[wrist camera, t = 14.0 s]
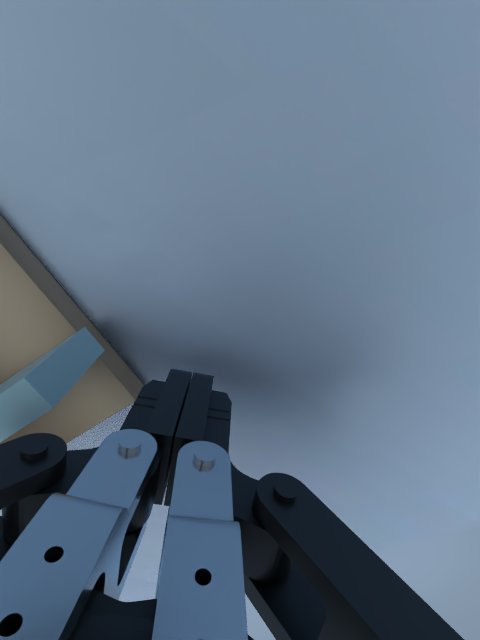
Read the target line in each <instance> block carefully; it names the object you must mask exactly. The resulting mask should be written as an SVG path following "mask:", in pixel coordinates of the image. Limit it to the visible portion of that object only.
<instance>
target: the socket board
mask: <svg viewBox="0 0 480 640" xmlns="http://www.w3.org/2000/svg"><path fill="white" fill-rule="evenodd" d="M83 327H85V328H86V329H87V330H88V331H89V332H90V333H91V335H92V336H93V337H94V338H95V339H96V340H97V342H98V343H99V344H100V345H101V346H102V348H103V349H104V352H103V353H102V354H101V355H100V356H99V357H98V358H97V359H96V361H95V362H94V363H93V364H92V365H91V366H90V367H89V369H88V370H87V371H86V372H85V373H84V374H83V375H82V376H81V378H80V379H79V380H78V381H77V382H76V383H75V384H74V385H73V387H72V388H71V389H70V390H69V391H68V392H67V393H66V395H65V396H64V397H63V398H62V399H61V400H60V401H59V402H58V404H57V405H56V406H55V407H54V408H53V409H52V410H50V411H48V412H47V413H45V414H44V415H42V416H41V417H39V418H38V419H36V420H34V421H33V422H31V423H30V424H28V425H27V426H25V427H24V428H22V429H20V430H19V431H17V432H16V433H14V434H13V435H11V436H10V437H8V438H6V439H5V440H3V441H2V442H0V444H2V443H5V442H8V441H10V440H13V439H16V438H19V437H21V436H24V435H28V434H33V433H50V434H54V435H57V436H59V437H61V438H62V439H63V440H64V441H65V443H67V442H69V441H71V440H72V439H74V438H76V437H77V436H79V435H80V434H82V433H84V432H85V431H87V430H89V429H90V428H92V427H94V426H95V425H97V424H98V423H100V422H102V421H103V420H105V419H107V418H108V417H110V416H112V415H113V414H115V413H116V412H118V411H120V410H121V409H123V408H125V407H126V406H128V405H130V404H131V403H133V402H134V401H135V400H136V398H137V397H138V395H139V393H140V391H141V389H142V387H143V386H144V384H143V383H142V382H141V381H140V380H139V378H138V377H137V376H136V375H135V374H134V372H133V371H132V370H131V369H130V368H129V367H128V365H127V364H126V363H125V362H124V361H123V359H122V358H121V357H120V356H119V355H118V354H117V352H116V351H115V350H114V349H113V348H112V346H111V345H110V344H109V343H108V342H107V340H106V339H105V338H104V337H103V336H102V335H101V333H100V332H99V331H98V330H97V329H96V327H95V326H94V325H93V324H92V323H91V322H90V320H89V319H88V318H87V317H86V316H85V314H84V313H83V312H82V311H81V310H80V308H79V307H78V306H77V305H76V304H75V303H74V301H73V300H72V299H71V298H70V297H69V295H68V294H67V293H66V292H65V291H64V289H63V288H62V287H61V286H60V285H59V284H58V282H57V281H56V280H55V279H54V278H53V276H52V275H51V274H50V273H49V272H48V271H47V269H46V268H45V267H44V266H43V265H42V263H41V262H40V261H39V260H38V259H37V257H36V256H35V255H34V254H33V253H32V252H31V250H30V249H29V248H28V247H27V246H26V244H25V243H24V242H23V241H22V240H21V239H20V237H19V236H18V235H17V234H16V233H15V231H14V230H13V229H12V228H11V227H10V225H9V224H8V223H7V222H6V221H5V220H4V218H3V217H2V216H1V215H0V384H2V383H3V382H5V381H6V380H8V379H9V378H10V377H12V376H13V375H15V374H16V373H18V372H19V371H21V370H22V369H24V368H25V367H27V366H28V365H29V364H31V363H32V362H34V361H35V360H37V359H38V358H40V357H41V356H43V355H44V354H45V353H47V352H48V351H50V350H51V349H53V348H54V347H56V346H57V345H59V344H60V343H61V342H63V341H64V340H66V339H67V338H69V337H70V336H72V335H73V334H75V333H76V332H78V331H79V330H80V329H82V328H83Z"/></svg>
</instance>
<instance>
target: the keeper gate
mask: <svg viewBox="0 0 480 640" xmlns="http://www.w3.org/2000/svg"><path fill="white" fill-rule="evenodd" d="M103 352H104V349H103V348H102V346H101V345H100V344H99V343H98V342H97V340H96V339H95V338H94V337H93V336H92V335H91V333H90V332H89V331H88V330H87V329H86V328H85V327H83V328H82V329H80V330H79V331H78V332H76V333H75V334H73V335H72V336H70V337H69V338H67V339H66V340H64V341H63V342H61V343H60V344H59V345H57V346H56V347H54V348H53V349H51V350H50V351H48V352H47V353H45V354H44V355H43V356H41V357H40V358H38V359H37V360H35V361H34V362H32V363H31V364H29V365H28V366H27V367H25V368H24V369H22V370H21V371H19V372H18V373H16V374H15V375H13V376H12V377H10V378H9V379H8V380H6V381H5V382H3V383H2V384H0V442H2V441H3V440H5V439H6V438H8V437H10V436H11V435H13V434H14V433H16V432H17V431H19V430H20V429H22V428H24V427H25V426H27V425H28V424H30V423H31V422H33V421H34V420H36V419H38V418H39V417H41V416H42V415H44V414H45V413H47V412H48V411H50V410H52V409H53V408H54V407H55V406H56V405H57V404H58V402H59V401H60V400H61V399H62V398H63V397H64V396H65V395H66V393H67V392H68V391H69V390H70V389H71V388H72V387H73V385H74V384H75V383H76V382H77V381H78V380H79V379H80V378H81V376H82V375H83V374H84V373H85V372H86V371H87V370H88V369H89V367H90V366H91V365H92V364H93V363H94V362H95V361H96V359H97V358H98V357H99V356H100V355H101V354H102V353H103Z"/></svg>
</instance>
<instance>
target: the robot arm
mask: <svg viewBox="0 0 480 640" xmlns="http://www.w3.org/2000/svg"><path fill="white" fill-rule="evenodd" d="M191 376H192V372H187V371H182V370H176V369H171V370H170V372H169V375H168V377H167V379H166V382H162V381H156V380H152V381H150V382H149V383H147V384H146V385H144V386H143V387H142V389H141V391H140V393H139V395H138V397H137V398H136V400H135V402H134V405H133V406H132V408H131V410H130V412H129V414H128V415H127V417H126V419H125V421H124V423H123V425H122V427H121V429H120V430H119V431H116V432H114V433H112V434H110V435H109V436H107V437H106V438H105V439H104V441H103V442H102V444H101V445H100V446H99V447H97V448H92V449H85V450H70V451H67V445H66V443H65V441H64V440H63V439H62V438H61V437H59V436H57V435H54V434H50V433H33V434H28V435H24V436H21V437H19V438H16V439H13V440H10V441H8V442H5V443H2V444H0V510H1V509H2V516H0V640H253V638H251V637H250V636H249V635H248V633H247V618H246V603H245V594H246V595H247V597H248V598H249V599H250V601H251V603H252V604H253V606H254V607H255V609H256V610H257V611H258V613H259V615H260V616H261V618H262V619H263V621H264V622H265V623H266V625H267V627H268V628H269V630H270V631H271V632H272V634H273V635H274V637H275V639H276V640H464V639H463V638H462V637H461V636H460V635H459V634H458V633H457V632H455V630H454V629H453V628H451V627H450V625H448V624H447V623H446V622H445V621H444V620H443V619H442V618H441V617H440V616H439V615H438V614H437V613H436V612H435V611H434V610H433V609H432V608H431V607H430V606H429V605H428V604H427V603H426V602H424V600H423V599H422V598H421V597H420V596H418V595H417V594H416V593H415V592H414V591H413V590H412V589H411V588H410V587H409V586H408V585H407V584H406V583H405V582H404V581H403V580H402V579H401V578H400V577H399V576H398V575H397V574H396V573H395V572H394V571H393V570H391V568H390V567H388V565H387V564H385V562H383V561H382V560H381V559H380V558H379V557H378V556H377V555H376V554H375V553H374V552H373V551H372V550H371V549H370V548H369V547H368V546H367V545H366V544H365V543H364V542H363V541H362V540H361V539H360V538H359V537H358V536H357V535H356V534H355V533H354V532H353V531H352V530H350V529H349V528H348V527H347V526H346V525H345V524H344V523H343V522H342V521H341V520H340V519H339V518H338V517H337V516H336V515H335V514H334V513H333V512H332V511H331V510H330V509H329V508H328V507H327V506H326V505H325V504H324V503H323V502H322V501H321V500H320V499H319V498H317V497H316V496H315V495H314V494H313V493H312V492H311V491H310V490H309V489H308V488H307V487H306V486H305V485H304V484H303V483H302V482H301V481H299V480H298V479H296V478H294V477H292V476H290V475H287V474H283V473H270V474H267V475H265V476H263V477H262V478H261V479H260V480H259V481H258V480H255V479H253V478H251V477H249V476H247V475H245V474H243V473H241V472H240V471H239V470H238V469H236V468H235V466H234V465H233V464H232V462H231V461H230V457H229V453H228V450H229V435H230V420H231V405H232V402H231V400H230V398H229V397H228V395H227V393H224V392H219V391H213V390H212V384H213V378H214V376H210V375H204V374H199V373H193V376H192V379H191ZM190 382H191V383H190ZM167 483H168V484H167ZM166 487H167V490H166ZM165 490H166V496H165V502H164V505H166V506H169V511H168V516H167V522H166V528H165V534H164V541H163V547H162V554H161V561H160V567H159V574H158V581H157V587H156V594H155V599H151V600H143V601H136V602H121V601H118V599H119V596H120V594H121V591H122V589H123V586H124V583H125V581H126V578H127V576H128V573H129V570H130V568H131V565H132V563H133V560H134V558H135V555H136V552H137V550H138V547H139V545H140V542H141V539H142V537H143V534H144V532H145V528H146V522H147V520H148V518H149V516H150V513H151V509H152V506H153V504H159V505H162V502H163V498H164V494H165Z"/></svg>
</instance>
